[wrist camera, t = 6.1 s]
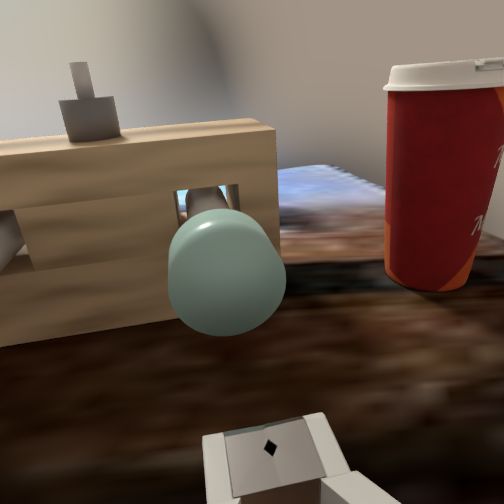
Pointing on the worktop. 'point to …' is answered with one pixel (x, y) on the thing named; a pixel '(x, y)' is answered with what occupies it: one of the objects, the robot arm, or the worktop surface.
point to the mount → (118, 219)
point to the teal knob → (222, 268)
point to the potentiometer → (88, 110)
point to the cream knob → (9, 237)
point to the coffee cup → (440, 168)
